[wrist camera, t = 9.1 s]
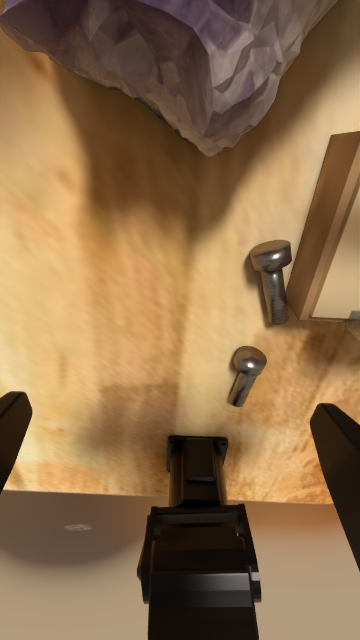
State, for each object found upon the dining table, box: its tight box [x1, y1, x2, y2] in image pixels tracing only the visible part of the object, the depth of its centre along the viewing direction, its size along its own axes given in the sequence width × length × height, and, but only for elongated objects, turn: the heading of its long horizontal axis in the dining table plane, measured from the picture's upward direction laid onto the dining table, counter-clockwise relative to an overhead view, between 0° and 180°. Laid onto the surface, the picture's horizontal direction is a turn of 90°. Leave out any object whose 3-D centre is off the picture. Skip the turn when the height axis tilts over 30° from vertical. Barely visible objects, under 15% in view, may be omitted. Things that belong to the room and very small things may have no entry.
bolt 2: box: [250, 240, 292, 325], centre depth 18 cm, size 6×2×2 cm, turn 18°
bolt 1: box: [229, 346, 267, 407], centre depth 23 cm, size 6×2×2 cm
